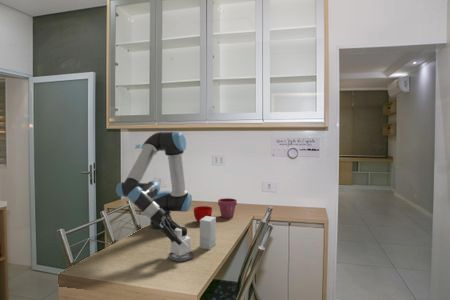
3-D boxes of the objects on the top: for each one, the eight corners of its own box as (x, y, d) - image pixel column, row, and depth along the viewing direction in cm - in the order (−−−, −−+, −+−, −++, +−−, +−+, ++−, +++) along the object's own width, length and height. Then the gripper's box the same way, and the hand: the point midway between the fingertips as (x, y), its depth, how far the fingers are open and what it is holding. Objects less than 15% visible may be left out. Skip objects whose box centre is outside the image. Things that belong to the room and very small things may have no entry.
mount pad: (170, 252, 141) (170, 249, 140) (194, 251, 141) (194, 249, 141) (166, 262, 129) (166, 259, 129) (192, 261, 129) (192, 259, 129)
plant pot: (232, 213, 218) (232, 197, 217) (239, 217, 205) (239, 200, 204) (215, 215, 212) (215, 198, 212) (222, 219, 199) (222, 202, 199)
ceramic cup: (201, 227, 181) (201, 212, 181) (190, 221, 195) (190, 207, 195) (218, 224, 188) (218, 210, 188) (206, 218, 203) (206, 205, 202)
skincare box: (205, 243, 153) (205, 215, 153) (216, 244, 151) (216, 216, 150) (199, 248, 145) (199, 219, 145) (210, 250, 143) (210, 220, 143)
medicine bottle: (181, 248, 140) (181, 225, 139) (191, 251, 135) (191, 227, 135) (170, 252, 134) (170, 228, 134) (180, 256, 130) (180, 231, 129)
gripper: (154, 212, 145) (184, 241, 146) (143, 225, 123) (178, 259, 124) (164, 202, 145) (194, 231, 146) (155, 213, 123) (190, 247, 124)
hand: (187, 244), depth 135 cm, fingers closed on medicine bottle, 10 cm apart
